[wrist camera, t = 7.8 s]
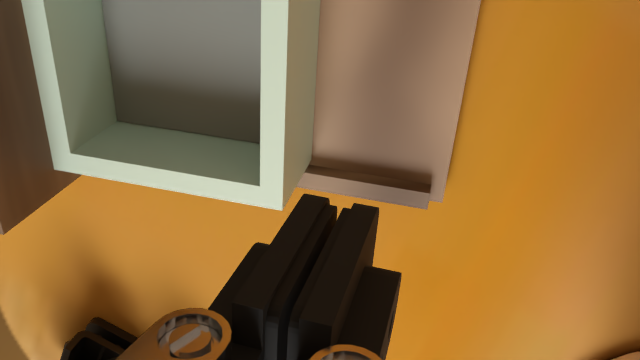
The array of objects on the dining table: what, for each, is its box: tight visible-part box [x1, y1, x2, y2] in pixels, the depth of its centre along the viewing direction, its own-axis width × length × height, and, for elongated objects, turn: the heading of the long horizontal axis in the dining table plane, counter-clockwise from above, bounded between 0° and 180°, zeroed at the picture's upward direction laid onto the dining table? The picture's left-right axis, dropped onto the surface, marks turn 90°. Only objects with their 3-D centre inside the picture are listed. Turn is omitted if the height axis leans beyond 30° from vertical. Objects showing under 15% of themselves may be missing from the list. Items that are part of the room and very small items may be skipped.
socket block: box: [21, 0, 320, 211], centre depth 22 cm, size 10×10×4 cm
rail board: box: [0, 0, 481, 235], centre depth 21 cm, size 17×12×9 cm
